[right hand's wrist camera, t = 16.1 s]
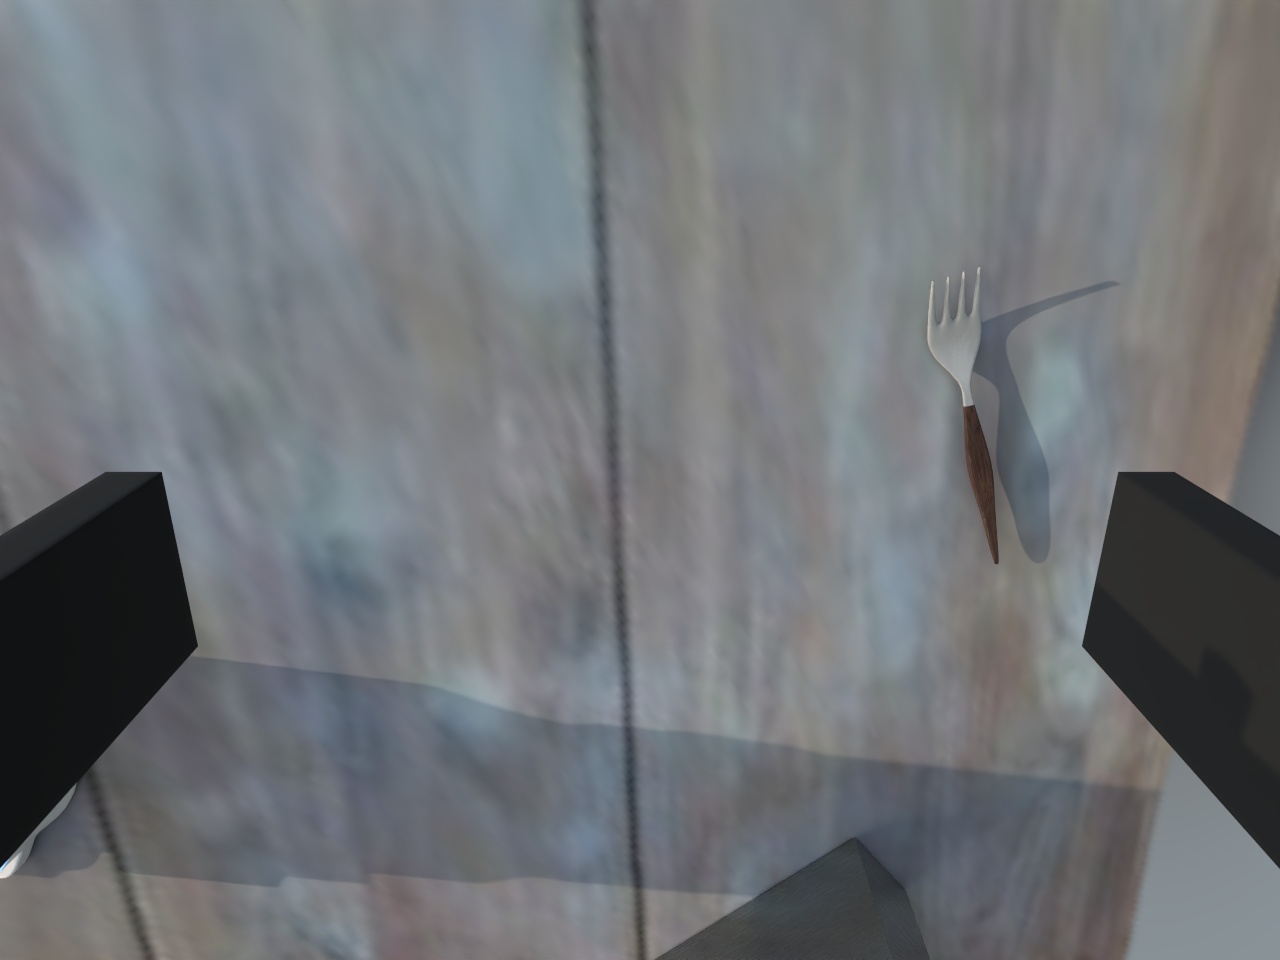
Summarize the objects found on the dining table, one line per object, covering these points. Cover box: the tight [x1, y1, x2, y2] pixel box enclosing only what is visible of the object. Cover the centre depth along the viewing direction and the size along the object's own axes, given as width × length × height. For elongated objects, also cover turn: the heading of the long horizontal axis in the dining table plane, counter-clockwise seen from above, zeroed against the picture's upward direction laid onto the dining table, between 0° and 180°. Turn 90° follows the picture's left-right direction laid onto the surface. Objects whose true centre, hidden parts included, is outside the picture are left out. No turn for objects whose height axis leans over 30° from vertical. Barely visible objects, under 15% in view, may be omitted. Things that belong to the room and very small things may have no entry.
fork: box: [927, 267, 999, 564], centre depth 43 cm, size 3×16×2 cm, turn 17°
